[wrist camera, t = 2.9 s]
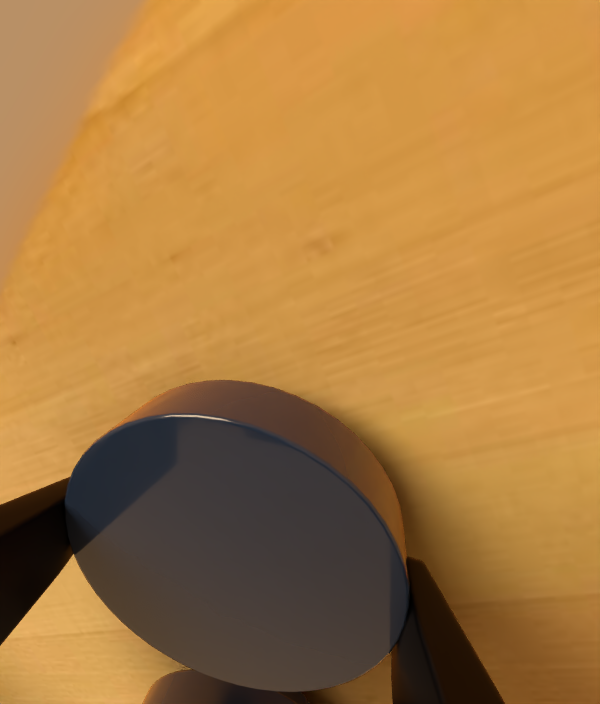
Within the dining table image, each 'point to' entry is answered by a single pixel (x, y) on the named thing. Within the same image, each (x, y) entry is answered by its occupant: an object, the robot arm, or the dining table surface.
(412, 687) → the robot arm
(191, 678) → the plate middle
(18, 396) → the dining table surface
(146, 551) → the dark round disc
